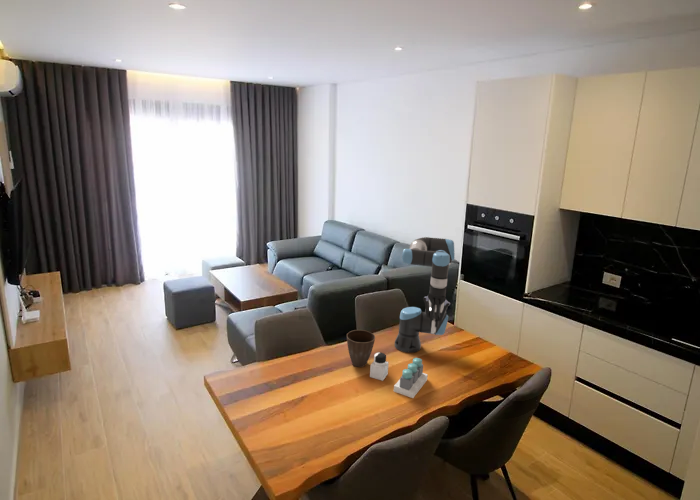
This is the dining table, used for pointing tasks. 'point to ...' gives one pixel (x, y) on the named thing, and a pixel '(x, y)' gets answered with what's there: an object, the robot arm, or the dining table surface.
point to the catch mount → (411, 383)
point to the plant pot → (360, 346)
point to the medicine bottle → (379, 367)
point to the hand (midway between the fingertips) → (433, 332)
